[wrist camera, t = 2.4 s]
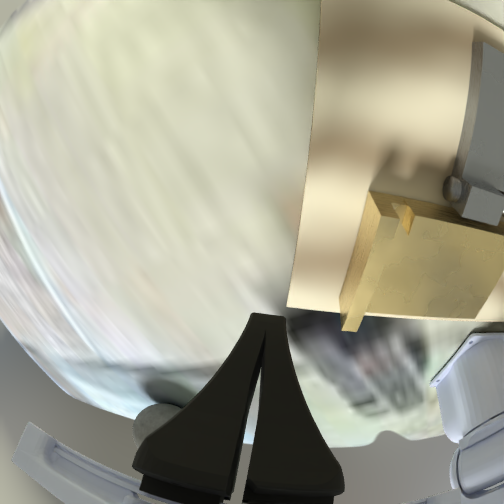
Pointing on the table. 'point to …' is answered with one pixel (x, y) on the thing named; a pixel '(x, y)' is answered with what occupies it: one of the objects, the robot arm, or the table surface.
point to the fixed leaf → (481, 142)
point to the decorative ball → (152, 420)
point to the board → (382, 128)
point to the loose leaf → (419, 262)
